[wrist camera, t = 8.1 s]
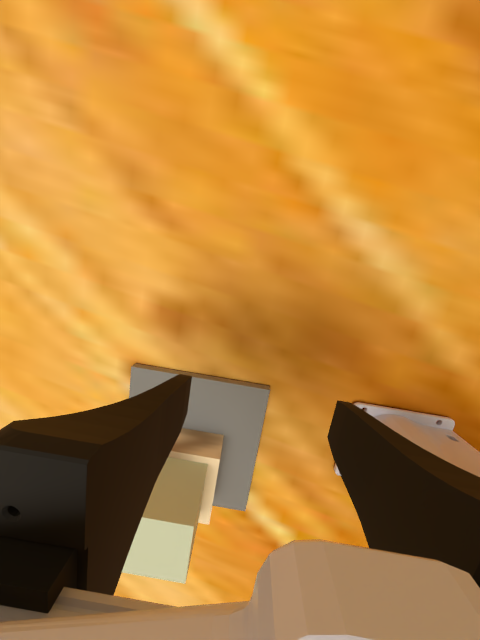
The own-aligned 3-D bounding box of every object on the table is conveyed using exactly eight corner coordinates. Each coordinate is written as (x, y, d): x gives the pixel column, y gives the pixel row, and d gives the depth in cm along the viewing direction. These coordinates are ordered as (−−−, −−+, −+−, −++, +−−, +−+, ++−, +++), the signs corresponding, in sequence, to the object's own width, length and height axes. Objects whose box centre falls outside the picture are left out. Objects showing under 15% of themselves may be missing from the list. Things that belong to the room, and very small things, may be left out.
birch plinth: (223, 435, 23) (220, 459, 20) (214, 493, 24) (209, 524, 21) (153, 422, 23) (138, 445, 20) (147, 482, 24) (133, 511, 21)
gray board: (269, 385, 22) (269, 390, 22) (245, 503, 25) (245, 511, 24) (135, 363, 22) (131, 366, 22) (126, 483, 25) (122, 489, 25)
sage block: (207, 463, 20) (194, 526, 15) (200, 510, 21) (185, 583, 16) (150, 453, 20) (117, 512, 15) (145, 500, 21) (113, 570, 16)
